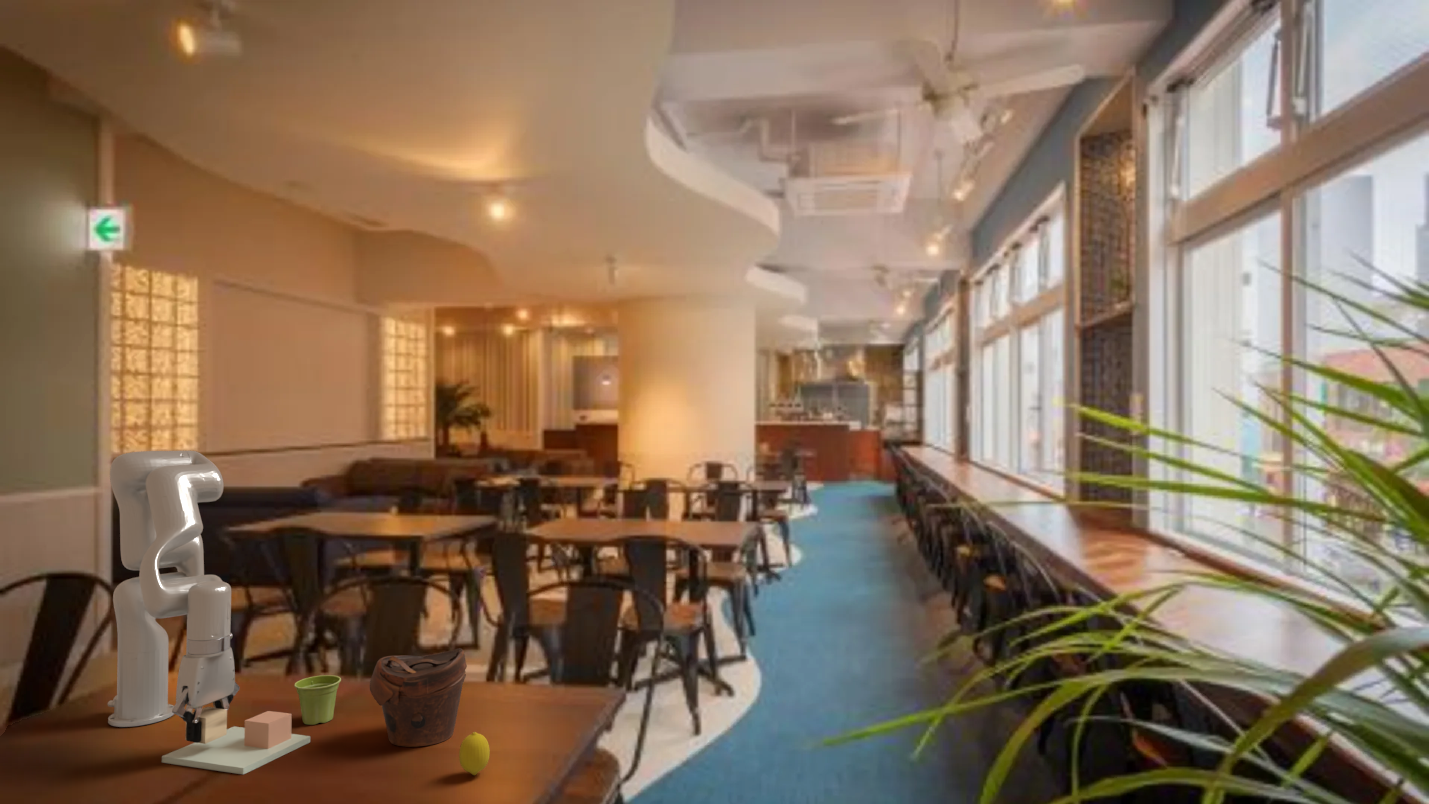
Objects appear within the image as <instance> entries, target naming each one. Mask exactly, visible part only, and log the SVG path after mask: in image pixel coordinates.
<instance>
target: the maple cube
mask: <svg viewBox="0 0 1429 804" xmlns="http://www.w3.org/2000/svg"><path fill="white" fill-rule="evenodd" d="M192 714H194V711H192ZM199 721H200V722H202V725H201V741H200V742H198V743H203V744H206V743H208V742H210V741H213V740H215V739H217V738H220V737H222V736H224V735H226V734H227V729H228V711H227V710H226V709H220V708H214V706H213V707H212V706H205V707H202V711H201V715H200V719H199ZM186 725H187V722H185V726H186ZM184 740H185V741H187V740H186V733H185V737H184Z"/></svg>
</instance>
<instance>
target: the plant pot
mask: <svg viewBox="0 0 1429 804" xmlns="http://www.w3.org/2000/svg"><path fill="white" fill-rule="evenodd" d="M341 682H342V678H341V677H340V676H338V675H335V674H334V675H332V674H330V675H329V674H328V675H327V674H325V675H324V674H323V675H314V676H310V677H306V678H302V679H300V680H298V681H296V682H294V686H293V687H294V688H295V689H296V692H297V694H298V698H299V706H300V711H301V719H302V723H303V724H304V725H309V726H310V725H311V726H313V725H314V726H315V725H317V724H319V723H321V724H325V723H328V722H330V721H331V720H333V719H334V712H335V706H336V698H337V691H338V689H339V686H340V683H341Z"/></svg>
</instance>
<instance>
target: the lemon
mask: <svg viewBox="0 0 1429 804" xmlns="http://www.w3.org/2000/svg"><path fill="white" fill-rule="evenodd" d="M459 747H460V748H459V752H458V754H459V755H458V758H459V759H458V760H459V764H460V766H461V768H462V769H463V770H464V771H465V772H467V773H470V774H471V776H476V775H477V774H478V773H479V772H481V771H483V770H484V769H485V768H486V766H487V765H488V764H489V759H490V753H491V751H490V745H489V742H488V740H487V738H486V737H485V736H484V735H483V734H481V733H478V732H476V731H473V732H471V734H468V735H467V736H466V737H465V738H464V739H463V740H462V741H461V745H460V746H459Z"/></svg>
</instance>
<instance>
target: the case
mask: <svg viewBox="0 0 1429 804" xmlns="http://www.w3.org/2000/svg"><path fill="white" fill-rule="evenodd" d="M467 667H468V666H467V661H466V655H465V651H464V650H463V648H460V647H459V648H456V649H453V650H448V651H443V652H439V653H435V654H428V655H423V656H421V655H406V654H405V655H402V654H401V655H400V654H399V655H387V656H382V657H381V658H379V659H378V660H377V662H376V664H375V666H374V669H373V671H372V675H371V677H370V681H369V691H370V694H371V696H372V697H373V700H375V701H376V703H377V704H378V706H381V709H382V713H383V718H384V722H385V723H384V724H385V727H386V732H387V735H388V741H389V742H390V743H391V744H392V745H395V746H399V747H406V748H407V747H408V748H415V747H416V748H417V747H426V746H431V745H436V744H440V743H442V742H445V741H447V740H449V739H450V738H451V737H452V736H453V734H454V731H455V728H456V727H455V726H456V721H457V716H458V711H459V705H460V701H461V697H462V696H461V694H462V690H463V686H464V685H463V684H464V682H465V679H466V676H467V672H466V670H467Z"/></svg>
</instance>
